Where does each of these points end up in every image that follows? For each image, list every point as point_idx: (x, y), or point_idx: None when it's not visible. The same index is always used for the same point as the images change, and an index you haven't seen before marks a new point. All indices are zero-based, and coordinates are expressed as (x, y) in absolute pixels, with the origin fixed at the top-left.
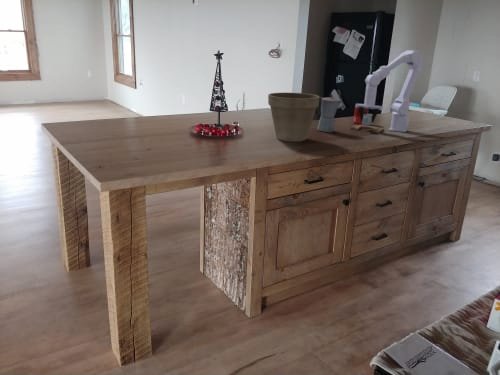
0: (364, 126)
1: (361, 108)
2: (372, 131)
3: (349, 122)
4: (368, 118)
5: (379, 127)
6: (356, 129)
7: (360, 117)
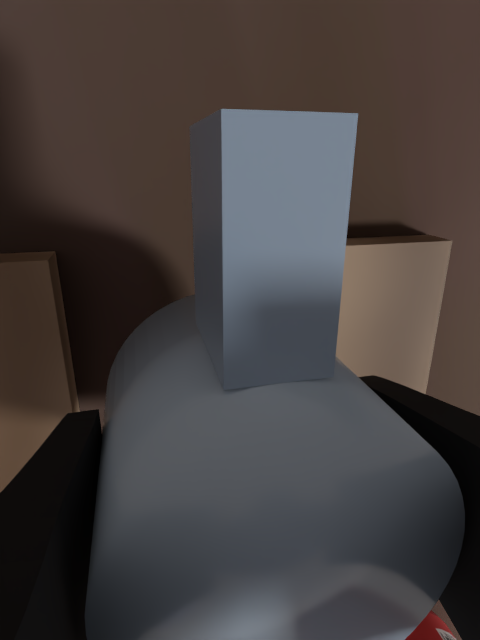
0: None
1: None
2: (38, 253)
3: None
4: (195, 382)
5: None
6: None
7: (447, 406)
